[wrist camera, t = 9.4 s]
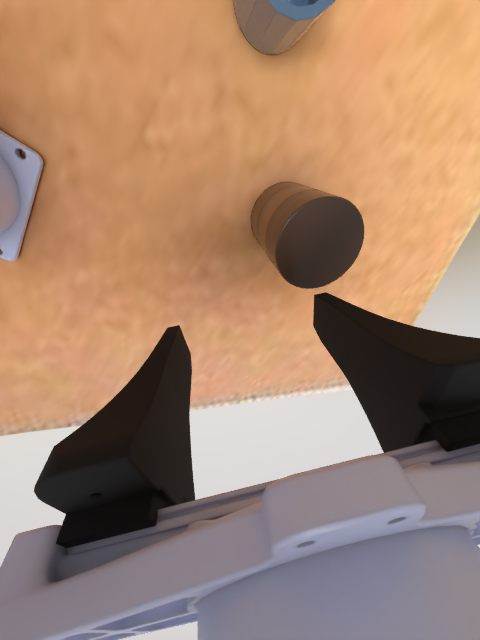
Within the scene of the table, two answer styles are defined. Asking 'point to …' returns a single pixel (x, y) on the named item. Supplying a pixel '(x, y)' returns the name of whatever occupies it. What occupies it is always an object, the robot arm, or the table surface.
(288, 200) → the walnut chip
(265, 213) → the disc
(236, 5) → the plastic cup
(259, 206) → the oak chip bottom
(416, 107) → the table surface
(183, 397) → the robot arm
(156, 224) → the table surface
